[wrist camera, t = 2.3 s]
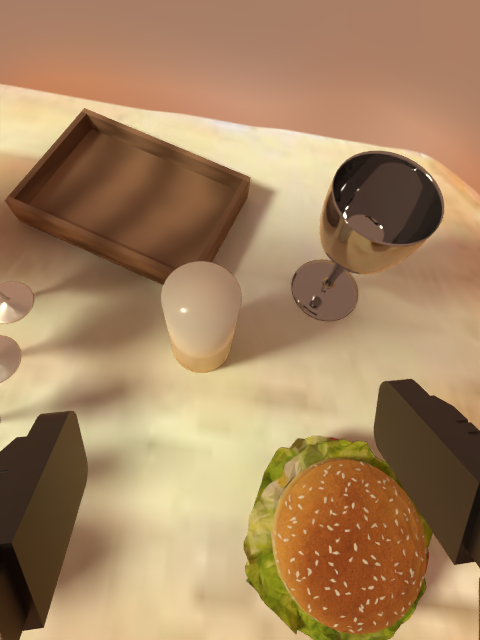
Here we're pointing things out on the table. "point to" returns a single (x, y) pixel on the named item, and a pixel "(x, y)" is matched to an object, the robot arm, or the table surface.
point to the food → (336, 542)
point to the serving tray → (130, 197)
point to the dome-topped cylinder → (201, 314)
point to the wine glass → (367, 228)
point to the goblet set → (9, 307)
